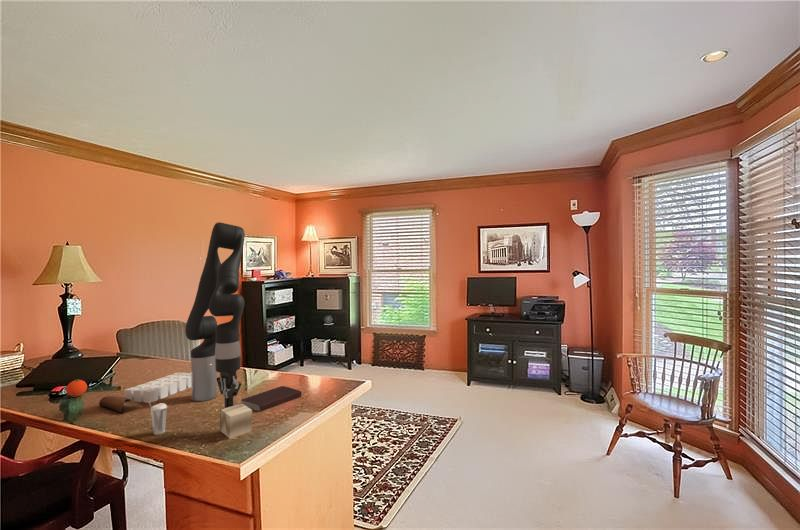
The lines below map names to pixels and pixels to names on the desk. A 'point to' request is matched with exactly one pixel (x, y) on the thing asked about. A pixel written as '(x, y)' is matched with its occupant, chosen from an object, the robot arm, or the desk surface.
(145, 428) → the desk surface
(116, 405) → the sunglasses case
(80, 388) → the clementine
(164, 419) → the milkshake
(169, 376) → the organizer
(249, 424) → the maple block
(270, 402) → the book
